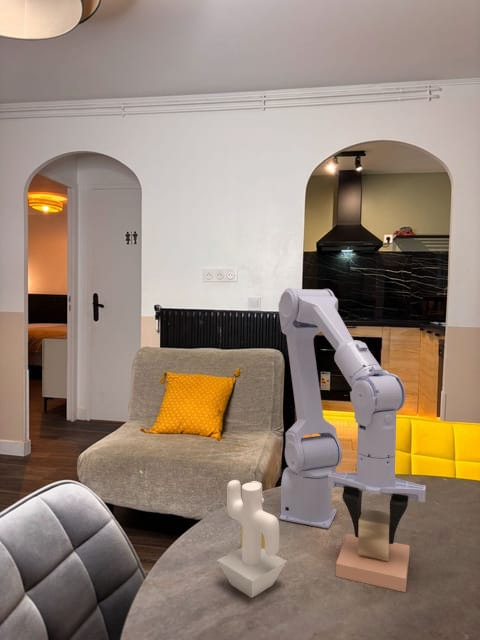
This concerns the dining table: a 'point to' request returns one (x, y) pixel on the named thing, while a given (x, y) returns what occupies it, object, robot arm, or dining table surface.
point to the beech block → (374, 534)
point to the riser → (374, 565)
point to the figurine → (252, 541)
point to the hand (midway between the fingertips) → (374, 537)
